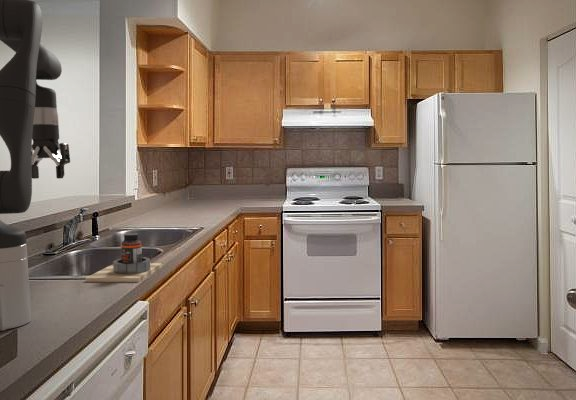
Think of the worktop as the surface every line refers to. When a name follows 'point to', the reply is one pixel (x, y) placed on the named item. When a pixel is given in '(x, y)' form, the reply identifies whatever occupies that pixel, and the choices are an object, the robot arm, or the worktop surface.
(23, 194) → the robot arm
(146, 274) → the base board
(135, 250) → the supplement bottle
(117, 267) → the collar
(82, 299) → the worktop surface
